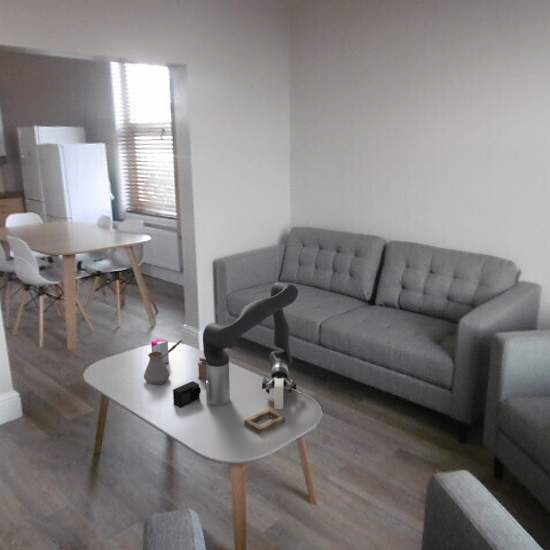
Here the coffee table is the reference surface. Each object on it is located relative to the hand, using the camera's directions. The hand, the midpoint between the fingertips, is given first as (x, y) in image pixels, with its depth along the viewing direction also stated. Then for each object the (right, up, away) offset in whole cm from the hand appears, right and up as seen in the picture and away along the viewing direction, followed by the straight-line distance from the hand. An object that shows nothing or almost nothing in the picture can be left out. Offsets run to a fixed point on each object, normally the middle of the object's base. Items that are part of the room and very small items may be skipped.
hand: (278, 391), depth 212 cm
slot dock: (-5, -9, -12) cm, 16 cm away
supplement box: (-57, +4, +41) cm, 70 cm away
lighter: (-32, 0, +25) cm, 41 cm away
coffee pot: (-51, +1, +26) cm, 58 cm away
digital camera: (-38, -5, +4) cm, 38 cm away
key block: (0, -6, +2) cm, 6 cm away
